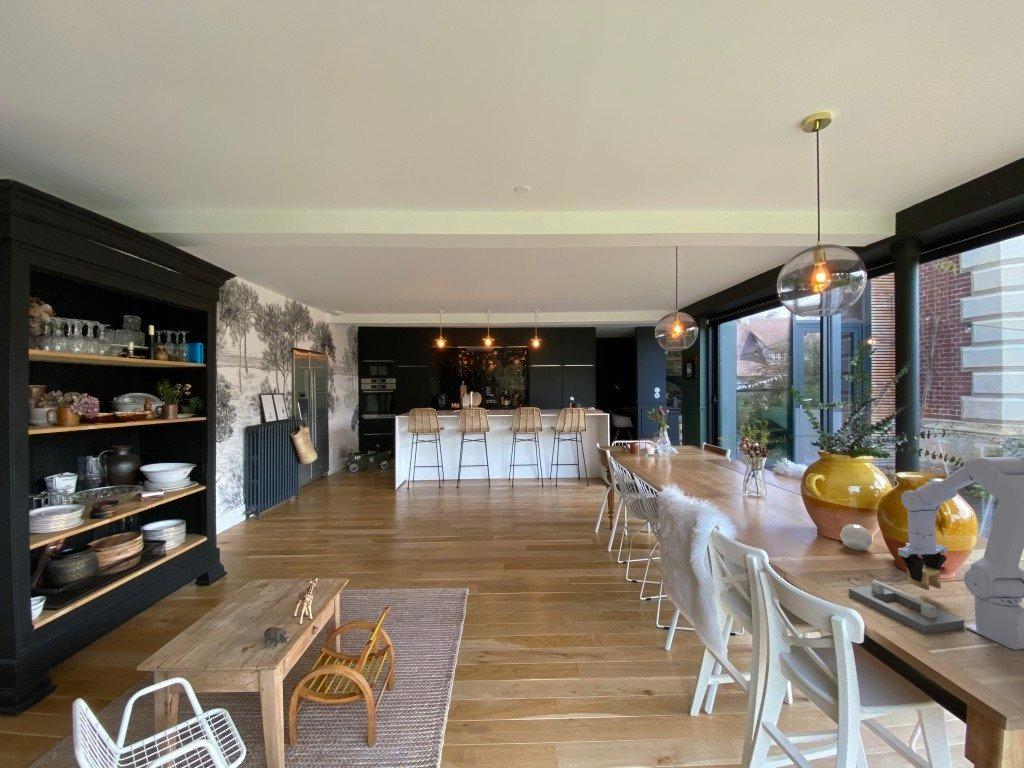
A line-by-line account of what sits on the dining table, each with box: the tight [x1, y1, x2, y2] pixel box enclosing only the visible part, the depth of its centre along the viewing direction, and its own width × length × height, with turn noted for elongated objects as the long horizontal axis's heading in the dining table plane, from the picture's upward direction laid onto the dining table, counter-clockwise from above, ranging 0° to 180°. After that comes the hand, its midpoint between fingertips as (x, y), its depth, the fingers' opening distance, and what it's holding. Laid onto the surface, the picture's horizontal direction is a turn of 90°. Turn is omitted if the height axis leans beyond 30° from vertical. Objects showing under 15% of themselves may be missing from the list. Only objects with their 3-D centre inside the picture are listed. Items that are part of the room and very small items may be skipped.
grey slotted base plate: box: [848, 579, 965, 634], centre depth 116 cm, size 20×12×5 cm, turn 9°
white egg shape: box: [838, 523, 873, 551], centre depth 161 cm, size 9×10×15 cm
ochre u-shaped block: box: [906, 565, 942, 591], centre depth 123 cm, size 5×5×5 cm
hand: (923, 579), depth 123 cm, fingers closed on ochre u-shaped block, 5 cm apart
